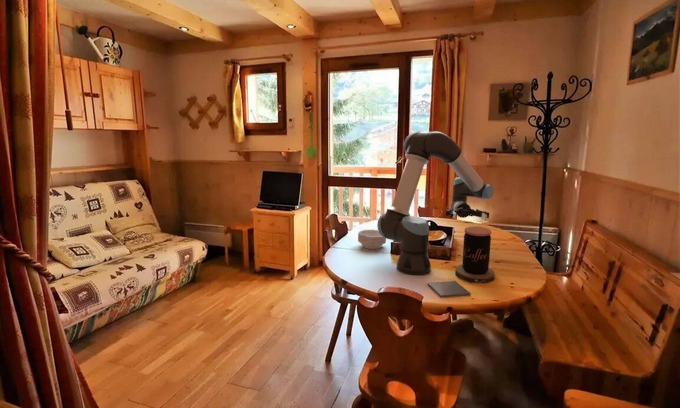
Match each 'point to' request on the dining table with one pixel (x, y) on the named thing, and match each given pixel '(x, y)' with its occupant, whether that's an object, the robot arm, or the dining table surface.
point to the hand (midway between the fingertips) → (470, 217)
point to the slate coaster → (448, 289)
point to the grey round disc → (474, 276)
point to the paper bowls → (371, 239)
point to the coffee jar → (476, 250)
